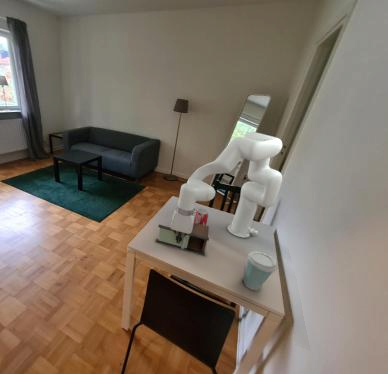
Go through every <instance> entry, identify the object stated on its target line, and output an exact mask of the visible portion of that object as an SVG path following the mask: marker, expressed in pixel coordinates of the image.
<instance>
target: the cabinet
mask: <svg viewBox="0 0 388 374" xmlns="http://www.w3.org/2000/svg"><path fill="white" fill-rule="evenodd" d="M157 228H159V229H160V228H163V229H167V230H170V226H167V225H162V224H160V223H159V224H158V227H157ZM209 229H210V226H209V225H206V226H205V225H201V224H197V223H194V224H193V229H192V235H189V240H188V244H187V248H184V249H182V248H181V247H180V246H177V245H173V244H170V243H166V242H163V241H159V240H158V238H156V240H155V242H156V243H158V244H162V245H166V246H168V247H171V248H176V249H179V250H183V251H186V252H190V253H193V254H197V255H200V256H205V255H206V252H205V250H206V246H207V242H208V241H210V237H209ZM171 231H172V230H171ZM179 233H182V232H180V231H179Z"/></svg>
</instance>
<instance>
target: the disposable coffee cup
mask: <svg viewBox="0 0 388 374" xmlns="http://www.w3.org/2000/svg"><path fill="white" fill-rule="evenodd" d="M277 264H278V263H277V260H276V259H275V258H274V257H273V256H271V255H269V254H268V253H265V252H263V251H258V250H257V251H251V252H249V253H248V254H247V260H246V265H245V270H244V275H243V278H242V279H243V284H244V285H245V286H246V287H247V288H249V289H250V290H253V291H258V290H260V289H261V287H262V286H263V285H264V284H265V283H266V282H267V280H268V279H269V277H270V276H271V275H272V274H273V272H275V271H276V270H277V269H278V265H277Z"/></svg>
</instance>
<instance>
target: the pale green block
mask: <svg viewBox="0 0 388 374" xmlns="http://www.w3.org/2000/svg"><path fill="white" fill-rule="evenodd" d="M180 234H181V233H180ZM179 237H180V236H179ZM157 239H158V240H159V241H163V242H166V243H170V244H173V245H177V246H180V247H181V248H182V249H181V250H183V249H184V248H187V244H188V240H189V235H186V236H183V237H182V241H180V244H179V243H176V242H177V240H176V234H175V233H174V231H171V230H167V229H163V228H159V232H158V238H157ZM178 241H179V240H178Z"/></svg>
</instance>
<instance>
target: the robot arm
mask: <svg viewBox="0 0 388 374" xmlns="http://www.w3.org/2000/svg"><path fill="white" fill-rule="evenodd" d="M282 148H283V141H282V140H281V139H280V138H279V137H276V136H272V135H267V134H264V133H260V132H256V131H249V132H246V133H245V134H244V135H243V136H237V137H234V138H233V139H232V140H230V142H229V143H228V144H227V146H226V147H225V148H224V149H223V150H222V151H221V153H220V154H219V155H218V156H217V158H215V160H213V161H211V162H208V163H206V164H204V165H202V166H200V167H198V168H197V169H196V170H195V171H193V173H192V174H191V175H190V177H189V178H188V180H186V181H187V182H185V183H183V184H181V186H180V190H179V195H178V201H177V205H176V208H175V209H174V211H173V214H172V218H171V221H170V226H169V227H170V230H172V231H174V233H175V234H176V240H177V242H176V243H179V244H180V241H182V237H183V236H186V235H192V229H193V224H194V219H195V214H196V213H197V211H198V209H196V208H195V206H196V203H197V202H210V201H211V200H213V199H214V198H215V197H216V190H215V188H214V187H213V186H211V185H209V184H208V183H206V182H205V181H203V180H204V179H206V178H207V177H209V176H211V175H216V174H230V173H231V172H232V171H233V170H234V169H235V168H236V166H237V165H238V164H239V163H240V161H242V159H245V160H247V161H249V165H248V171H247V179H248V180H249V181H246V182H244V183H243V184H242V186H241V189H240V197H239V201H238V203H237V207H236V210H235V213H234V216H233V219H232V221H231V223H230V224H228V225H227V231H228V232H230V234H231V235H234V236H235V237H238V238H243V239H246V238H249V237H250V236H251V234H254V235H258V233H259V231H258V230H256V229H255V228H254V227H251V225H252V223H253V220H254V217H255V215H256V212H257V209H258V206H261V207H262V208H271V207H273V206H274V205H275V204H276V202H277V200H278V196H279V193H280V189H281V186H282V183H283V175H282V173H281V172H280V171H279V170H276V169H274V168H272V167H270V162H271V158H273V157H275V156H277V155H278V154H279V153H280V152H281V150H282ZM179 231H180V232H182V233H181V234H180V233H179ZM179 236H180V237H179ZM178 240H179V241H178Z"/></svg>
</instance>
